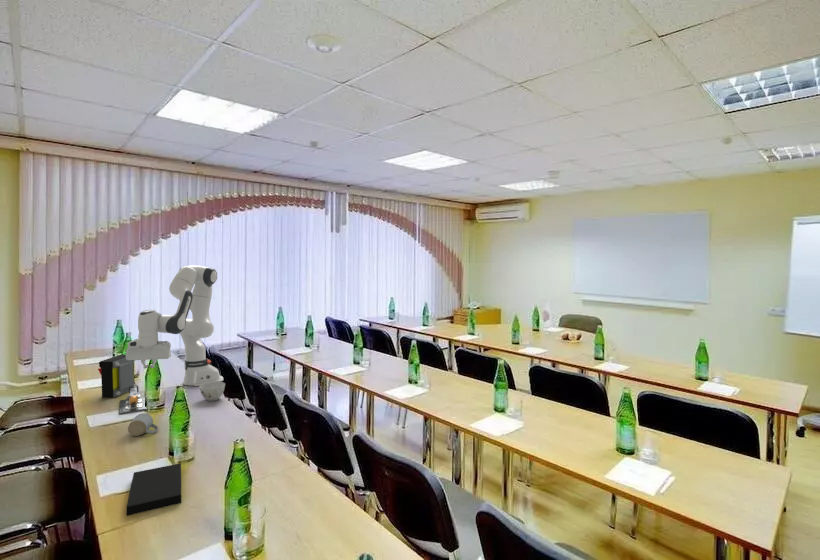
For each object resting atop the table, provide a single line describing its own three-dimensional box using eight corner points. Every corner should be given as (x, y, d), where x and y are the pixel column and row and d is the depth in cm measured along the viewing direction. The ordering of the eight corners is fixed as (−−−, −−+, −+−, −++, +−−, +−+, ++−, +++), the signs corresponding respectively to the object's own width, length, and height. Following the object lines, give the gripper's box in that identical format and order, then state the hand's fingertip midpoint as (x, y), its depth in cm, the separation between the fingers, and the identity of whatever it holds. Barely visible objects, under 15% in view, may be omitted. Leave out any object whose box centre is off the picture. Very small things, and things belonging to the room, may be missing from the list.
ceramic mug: (126, 438, 179) (126, 420, 179) (134, 430, 187) (134, 413, 187) (154, 436, 182) (154, 418, 182) (160, 428, 190) (160, 411, 189)
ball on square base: (140, 395, 236) (140, 390, 235) (140, 398, 231) (140, 393, 230) (127, 396, 232) (127, 392, 232) (127, 400, 227) (127, 395, 227)
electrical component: (117, 398, 231) (116, 361, 230) (98, 397, 231) (97, 361, 230) (138, 388, 248) (137, 354, 247) (121, 388, 248) (120, 354, 247)
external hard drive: (126, 517, 125) (126, 507, 125) (133, 481, 145) (133, 472, 145) (181, 504, 132) (181, 494, 132) (181, 471, 152) (180, 463, 152)
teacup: (196, 399, 229) (196, 384, 229) (220, 394, 238) (220, 380, 238) (206, 406, 219) (205, 390, 218) (230, 400, 227) (230, 385, 227)
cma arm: (128, 391, 232) (128, 385, 232) (138, 390, 234) (138, 384, 234) (128, 404, 211) (128, 398, 211) (138, 403, 213) (138, 397, 213)
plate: (147, 397, 231) (147, 395, 231) (148, 409, 213) (148, 407, 212) (120, 401, 224) (120, 399, 224) (119, 414, 206) (119, 412, 206)
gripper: (172, 339, 225) (173, 365, 226) (129, 341, 220) (129, 367, 221) (168, 341, 219) (169, 368, 219) (123, 343, 214) (124, 370, 215)
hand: (149, 367), depth 220 cm, fingers closed
